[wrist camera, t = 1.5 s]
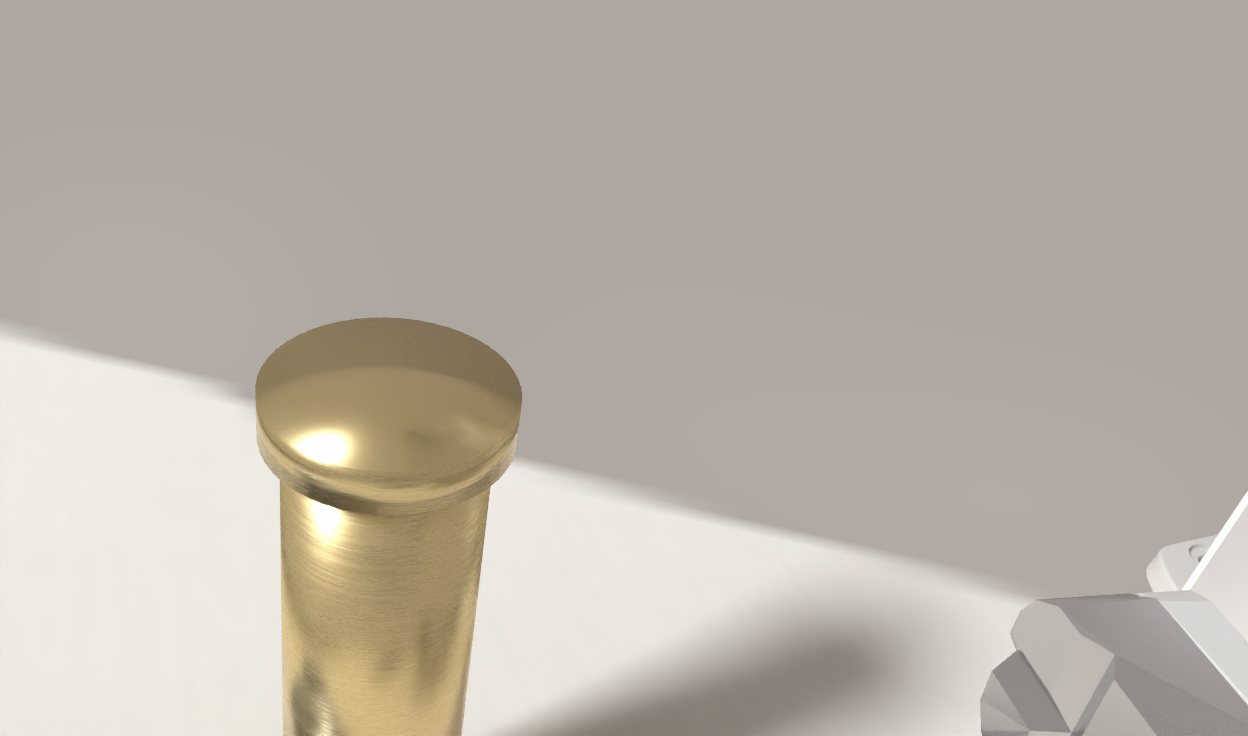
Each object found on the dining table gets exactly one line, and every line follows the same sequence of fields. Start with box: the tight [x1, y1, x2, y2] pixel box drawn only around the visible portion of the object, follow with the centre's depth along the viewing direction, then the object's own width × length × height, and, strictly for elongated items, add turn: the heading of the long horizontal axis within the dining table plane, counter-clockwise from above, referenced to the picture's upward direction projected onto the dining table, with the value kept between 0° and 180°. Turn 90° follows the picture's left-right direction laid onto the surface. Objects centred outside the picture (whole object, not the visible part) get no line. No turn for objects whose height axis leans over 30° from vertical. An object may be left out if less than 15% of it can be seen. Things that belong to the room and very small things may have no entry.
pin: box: [255, 318, 522, 736], centre depth 26 cm, size 5×5×15 cm
